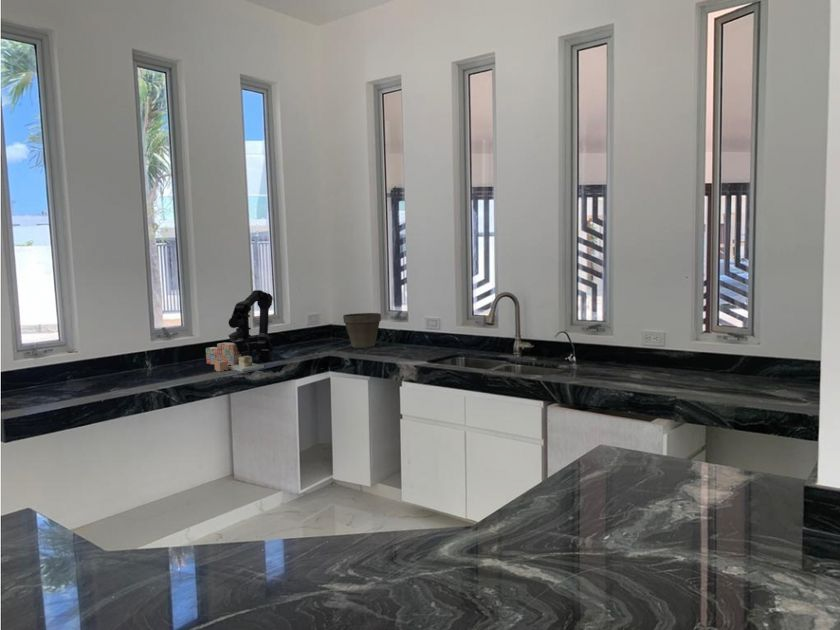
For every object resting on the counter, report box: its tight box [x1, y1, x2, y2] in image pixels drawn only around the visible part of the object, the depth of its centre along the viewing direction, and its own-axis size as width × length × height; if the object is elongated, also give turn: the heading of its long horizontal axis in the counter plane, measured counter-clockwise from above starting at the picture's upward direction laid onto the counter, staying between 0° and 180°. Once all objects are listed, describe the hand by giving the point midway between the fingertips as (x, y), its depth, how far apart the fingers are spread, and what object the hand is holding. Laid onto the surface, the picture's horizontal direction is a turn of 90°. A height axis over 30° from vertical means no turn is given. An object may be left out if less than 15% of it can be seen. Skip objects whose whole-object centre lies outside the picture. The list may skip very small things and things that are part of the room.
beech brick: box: [239, 355, 253, 367], centre depth 365 cm, size 5×5×5 cm
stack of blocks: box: [205, 342, 242, 366], centre depth 383 cm, size 21×6×12 cm, turn 63°
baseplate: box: [228, 362, 265, 373], centre depth 365 cm, size 14×14×2 cm
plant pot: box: [343, 312, 382, 349], centre depth 438 cm, size 25×25×22 cm
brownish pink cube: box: [213, 361, 229, 372], centre depth 361 cm, size 5×5×5 cm
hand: (244, 354), depth 364 cm, fingers open, 9 cm apart
